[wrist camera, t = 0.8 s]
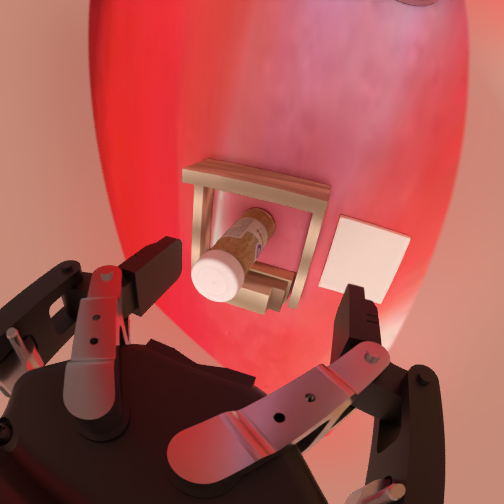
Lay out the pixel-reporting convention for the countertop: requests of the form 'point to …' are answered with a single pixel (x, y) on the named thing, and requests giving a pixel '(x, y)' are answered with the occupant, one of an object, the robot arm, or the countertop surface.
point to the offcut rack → (268, 189)
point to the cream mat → (363, 258)
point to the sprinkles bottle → (232, 256)
